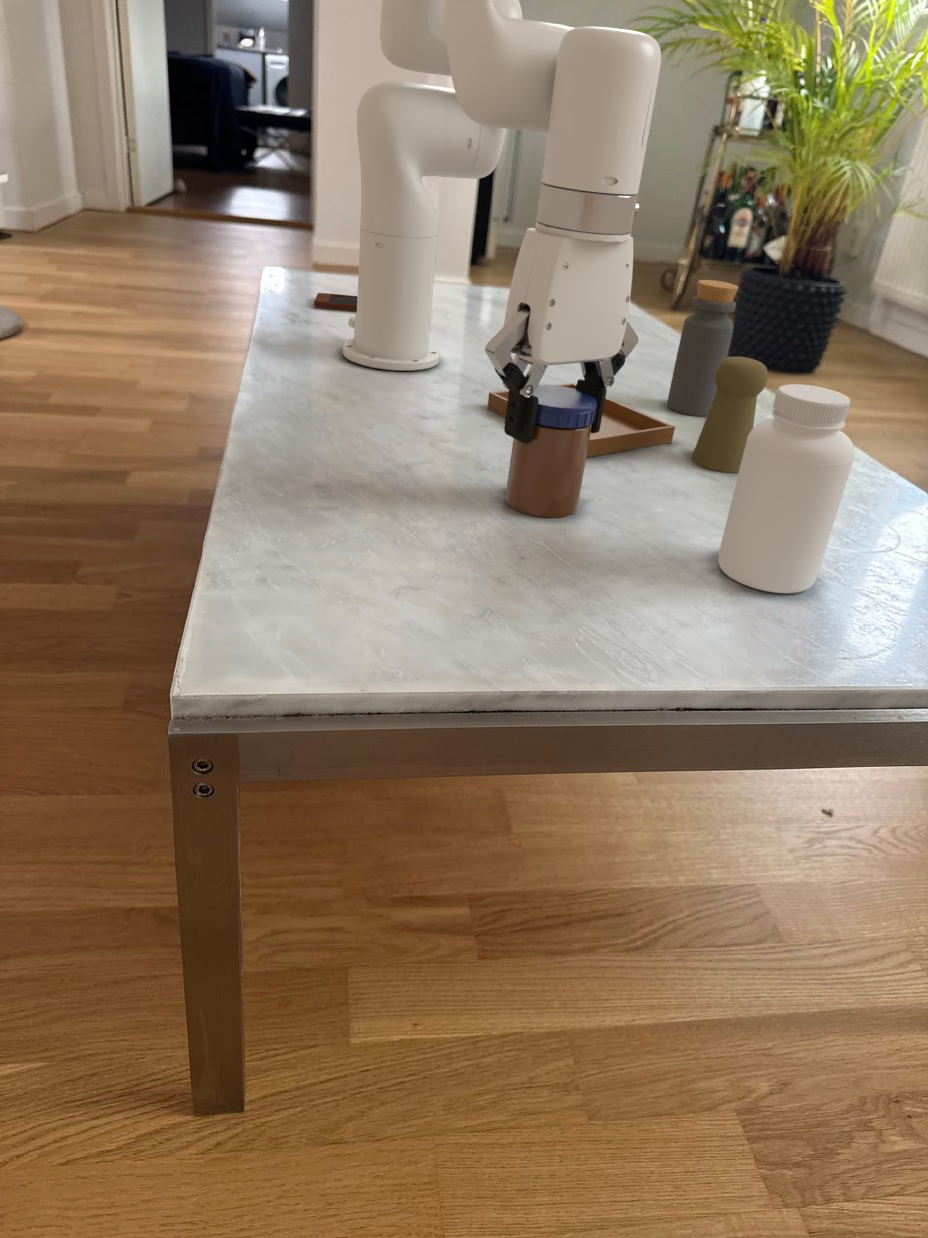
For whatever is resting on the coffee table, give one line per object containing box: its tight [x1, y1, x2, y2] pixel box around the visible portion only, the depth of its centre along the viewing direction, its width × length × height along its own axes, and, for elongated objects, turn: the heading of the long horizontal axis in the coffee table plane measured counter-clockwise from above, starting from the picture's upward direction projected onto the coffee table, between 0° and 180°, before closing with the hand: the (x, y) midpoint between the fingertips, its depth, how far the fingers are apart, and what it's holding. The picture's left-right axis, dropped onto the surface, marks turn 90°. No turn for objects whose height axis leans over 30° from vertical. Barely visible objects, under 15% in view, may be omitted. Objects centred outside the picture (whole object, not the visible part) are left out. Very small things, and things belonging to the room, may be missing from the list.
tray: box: [486, 382, 676, 459], centre depth 106 cm, size 17×13×2 cm
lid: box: [533, 384, 597, 428], centre depth 81 cm, size 7×7×2 cm
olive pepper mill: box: [691, 356, 769, 474], centre depth 98 cm, size 6×6×11 cm
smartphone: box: [313, 292, 357, 312], centre depth 148 cm, size 7×1×15 cm
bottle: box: [666, 279, 739, 417], centre depth 114 cm, size 6×6×15 cm
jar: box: [504, 424, 592, 519], centre depth 83 cm, size 7×7×9 cm
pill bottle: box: [717, 383, 855, 594], centre depth 74 cm, size 8×8×15 cm
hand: (552, 431), depth 82 cm, fingers open, 7 cm apart
